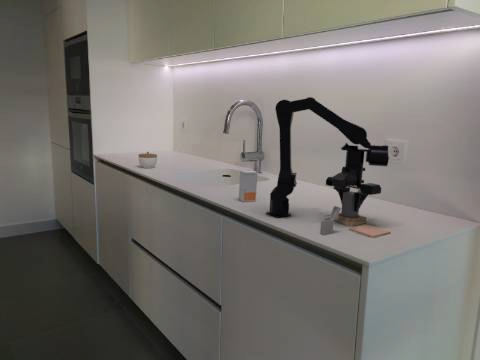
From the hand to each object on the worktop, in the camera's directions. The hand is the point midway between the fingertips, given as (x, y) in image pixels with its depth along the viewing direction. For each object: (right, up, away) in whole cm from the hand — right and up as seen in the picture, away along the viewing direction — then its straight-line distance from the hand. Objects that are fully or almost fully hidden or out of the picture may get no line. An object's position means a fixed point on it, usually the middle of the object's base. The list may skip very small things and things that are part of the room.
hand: (350, 210), depth 136 cm
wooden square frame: (0, -4, +1) cm, 4 cm away
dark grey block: (0, -4, +1) cm, 4 cm away
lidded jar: (-92, +17, +101) cm, 138 cm away
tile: (+3, -6, -10) cm, 12 cm away
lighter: (-10, -6, -13) cm, 17 cm away
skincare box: (-34, +2, +26) cm, 43 cm away
